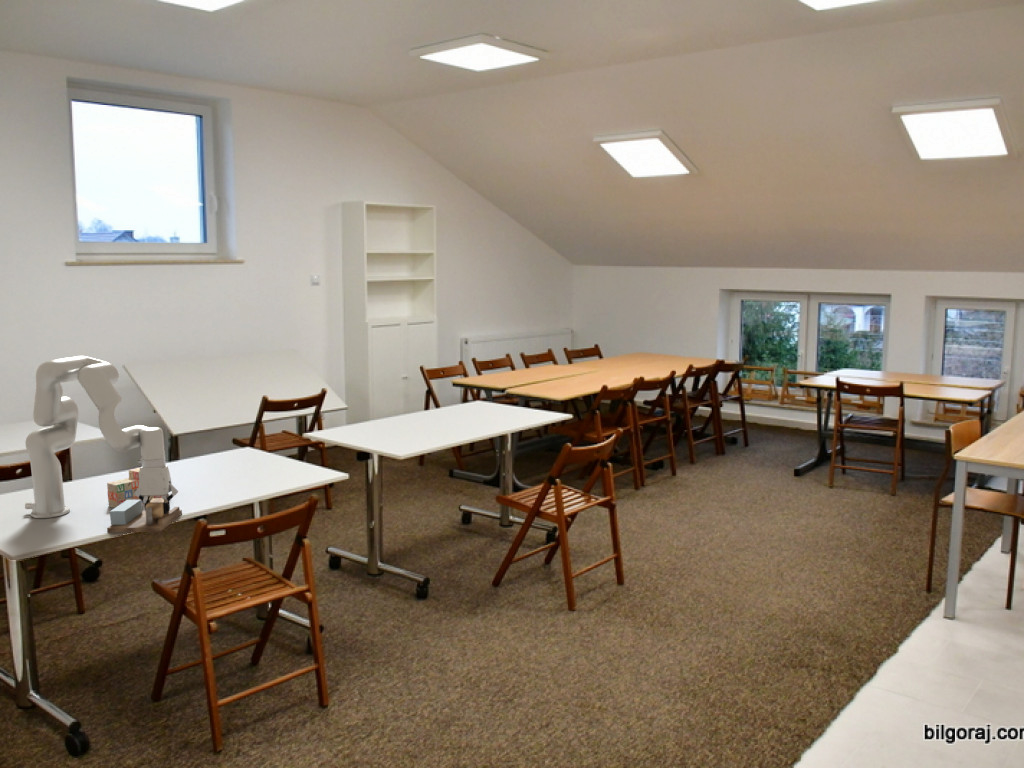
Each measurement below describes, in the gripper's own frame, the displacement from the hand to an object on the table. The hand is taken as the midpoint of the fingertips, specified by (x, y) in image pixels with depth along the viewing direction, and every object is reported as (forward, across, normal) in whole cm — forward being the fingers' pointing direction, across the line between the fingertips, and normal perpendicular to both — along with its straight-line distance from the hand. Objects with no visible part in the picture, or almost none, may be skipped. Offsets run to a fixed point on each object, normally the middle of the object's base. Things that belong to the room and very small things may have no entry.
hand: (157, 512), depth 302 cm
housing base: (+4, -4, 0) cm, 6 cm away
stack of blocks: (+4, -18, +28) cm, 34 cm away
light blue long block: (+2, -11, 0) cm, 11 cm away
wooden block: (0, 0, 0) cm, 1 cm away
